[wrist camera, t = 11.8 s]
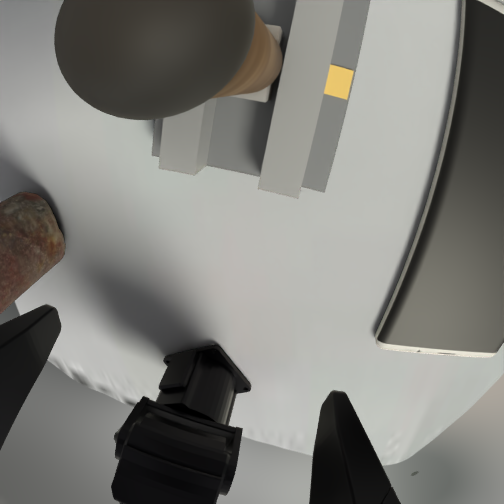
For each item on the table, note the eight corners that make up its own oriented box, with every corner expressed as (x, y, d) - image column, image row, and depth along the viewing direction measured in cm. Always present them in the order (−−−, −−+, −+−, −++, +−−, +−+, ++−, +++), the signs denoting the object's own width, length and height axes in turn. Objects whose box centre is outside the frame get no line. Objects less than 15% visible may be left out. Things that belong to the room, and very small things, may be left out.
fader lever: (282, 102, 15) (200, 153, 4) (213, 90, 15) (8, 132, 4) (296, 37, 13) (254, -102, 2) (225, 27, 13) (38, -60, 2)
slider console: (323, 181, 19) (326, 205, 15) (165, 148, 19) (135, 164, 16) (376, -65, 10) (389, -93, 6) (212, -87, 10) (191, -114, 7)
